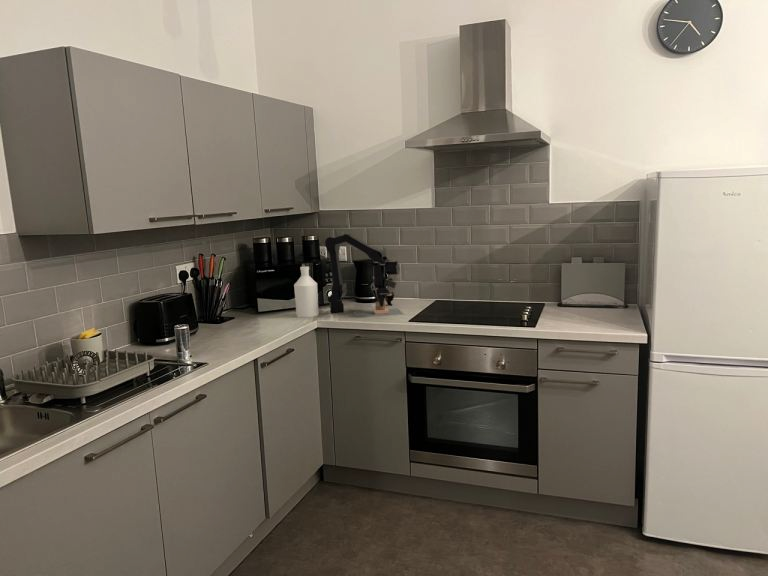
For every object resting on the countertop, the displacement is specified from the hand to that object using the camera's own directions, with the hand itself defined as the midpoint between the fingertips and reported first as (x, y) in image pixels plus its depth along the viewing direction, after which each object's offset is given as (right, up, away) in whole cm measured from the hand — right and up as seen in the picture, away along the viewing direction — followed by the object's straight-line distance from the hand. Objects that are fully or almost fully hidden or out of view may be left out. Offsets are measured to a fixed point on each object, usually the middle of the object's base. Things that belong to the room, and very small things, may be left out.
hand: (380, 305), depth 308 cm
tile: (-3, -3, 0) cm, 5 cm away
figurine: (+6, -2, +18) cm, 19 cm away
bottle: (-38, -6, +5) cm, 38 cm away
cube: (0, -2, 0) cm, 2 cm away
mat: (-1, -5, 0) cm, 5 cm away
